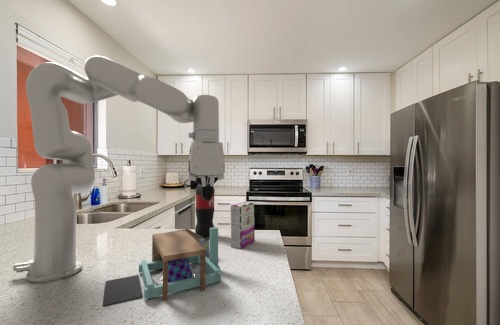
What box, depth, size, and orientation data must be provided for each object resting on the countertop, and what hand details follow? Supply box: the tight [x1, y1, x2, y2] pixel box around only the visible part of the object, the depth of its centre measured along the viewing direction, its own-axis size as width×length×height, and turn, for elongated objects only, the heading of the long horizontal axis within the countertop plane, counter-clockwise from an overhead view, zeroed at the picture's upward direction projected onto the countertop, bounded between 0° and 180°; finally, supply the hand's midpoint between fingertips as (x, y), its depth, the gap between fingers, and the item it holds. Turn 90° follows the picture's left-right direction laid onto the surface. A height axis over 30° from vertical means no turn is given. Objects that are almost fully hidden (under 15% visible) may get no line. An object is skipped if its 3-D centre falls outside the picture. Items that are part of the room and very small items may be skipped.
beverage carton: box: [171, 228, 210, 258], centre depth 88 cm, size 8×19×7 cm, turn 37°
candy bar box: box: [230, 201, 256, 250], centre depth 97 cm, size 11×5×16 cm, turn 151°
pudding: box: [154, 258, 200, 285], centre depth 67 cm, size 12×12×5 cm
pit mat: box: [102, 274, 144, 307], centre depth 60 cm, size 8×13×1 cm, turn 29°
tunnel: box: [151, 229, 206, 302], centre depth 67 cm, size 10×21×10 cm, turn 29°
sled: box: [138, 226, 222, 300], centre depth 68 cm, size 21×17×12 cm
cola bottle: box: [194, 176, 215, 239], centre depth 108 cm, size 8×8×30 cm
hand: (206, 199), depth 71 cm, fingers closed
